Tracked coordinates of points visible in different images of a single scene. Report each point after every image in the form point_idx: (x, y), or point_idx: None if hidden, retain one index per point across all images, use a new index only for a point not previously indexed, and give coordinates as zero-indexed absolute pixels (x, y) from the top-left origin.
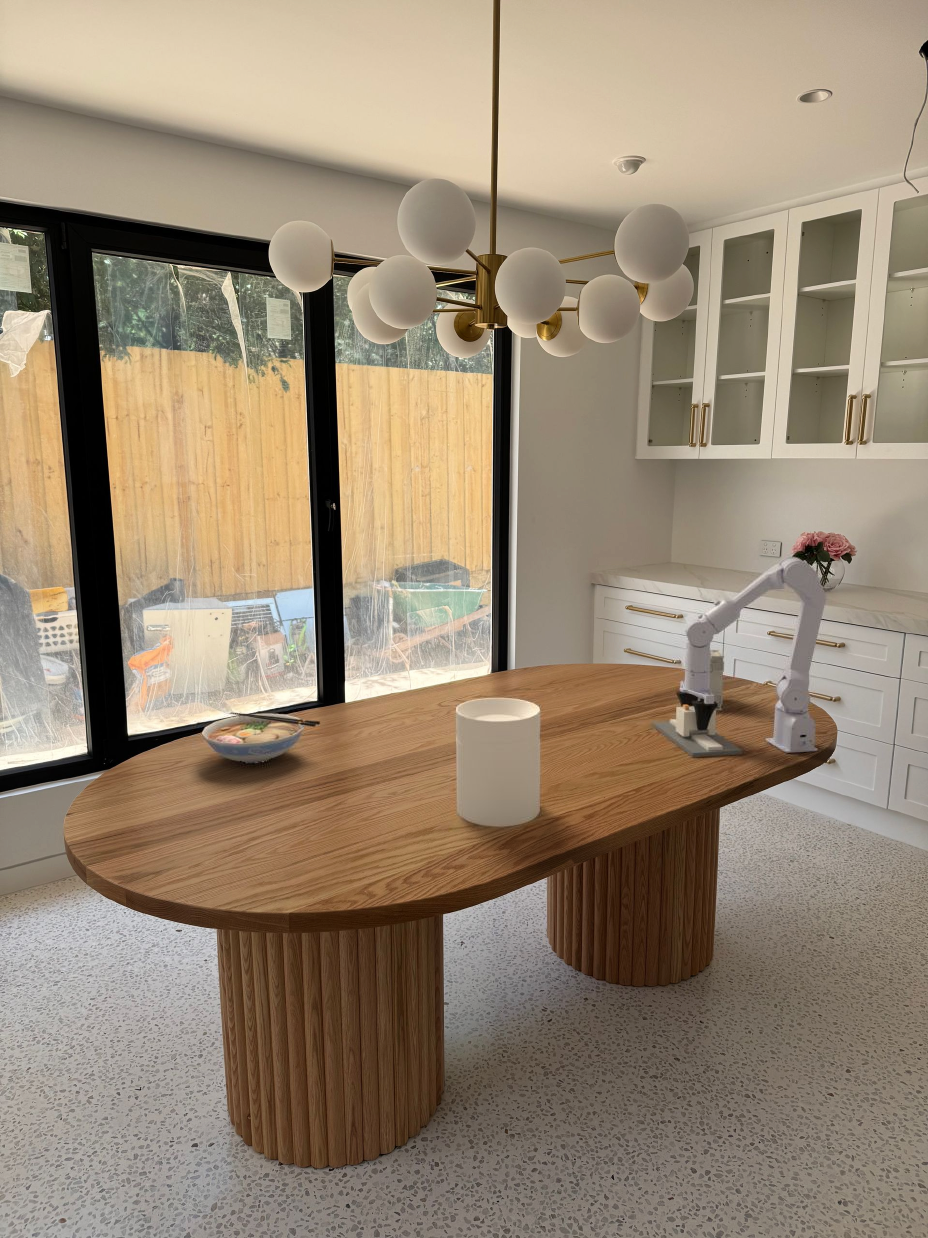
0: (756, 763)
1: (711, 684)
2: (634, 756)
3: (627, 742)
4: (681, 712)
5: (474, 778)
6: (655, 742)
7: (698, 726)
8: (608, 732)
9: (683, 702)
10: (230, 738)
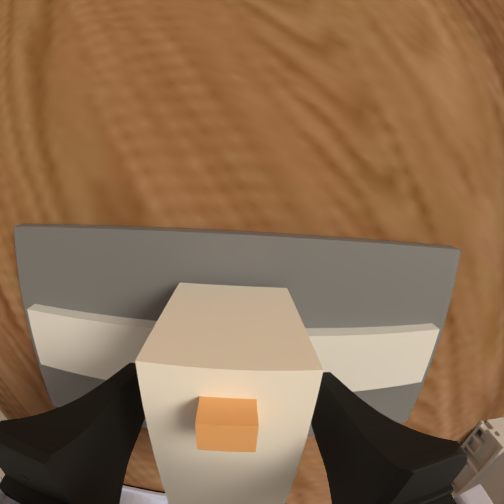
0: (4, 380)
1: (487, 493)
2: (94, 9)
3: (267, 21)
4: (201, 357)
5: None
6: (233, 139)
7: (118, 372)
8: (411, 28)
9: (360, 444)
10: None
